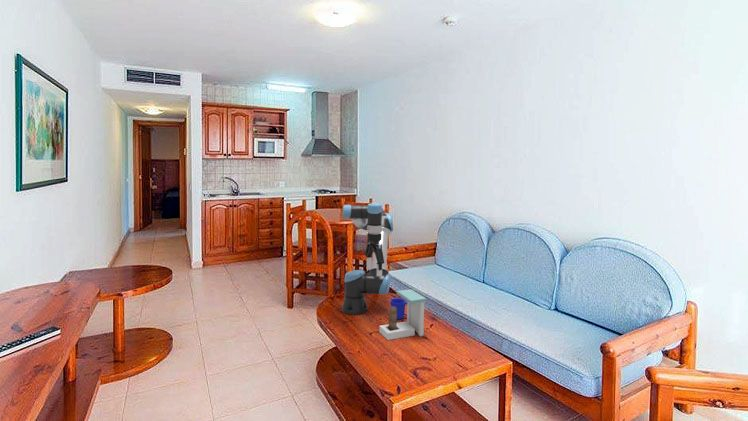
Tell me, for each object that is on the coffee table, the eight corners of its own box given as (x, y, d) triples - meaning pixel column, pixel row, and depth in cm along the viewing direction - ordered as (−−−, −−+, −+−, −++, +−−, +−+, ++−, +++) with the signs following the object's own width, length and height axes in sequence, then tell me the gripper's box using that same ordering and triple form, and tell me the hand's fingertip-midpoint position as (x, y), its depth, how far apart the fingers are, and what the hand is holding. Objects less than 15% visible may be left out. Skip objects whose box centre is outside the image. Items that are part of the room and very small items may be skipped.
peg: (387, 333, 203) (387, 307, 201) (394, 332, 205) (394, 306, 203) (390, 336, 199) (391, 309, 198) (397, 335, 201) (398, 308, 199)
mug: (410, 321, 219) (411, 304, 218) (389, 319, 221) (389, 302, 220) (412, 316, 227) (412, 299, 226) (391, 314, 229) (391, 297, 228)
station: (377, 330, 207) (377, 293, 205) (410, 324, 215) (410, 289, 213) (390, 342, 193) (390, 303, 190) (425, 336, 200) (426, 298, 198)
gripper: (359, 229, 218) (358, 267, 221) (377, 237, 195) (377, 279, 198) (371, 228, 221) (371, 266, 224) (391, 236, 198) (390, 278, 201)
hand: (374, 272), depth 211 cm, fingers open, 13 cm apart
